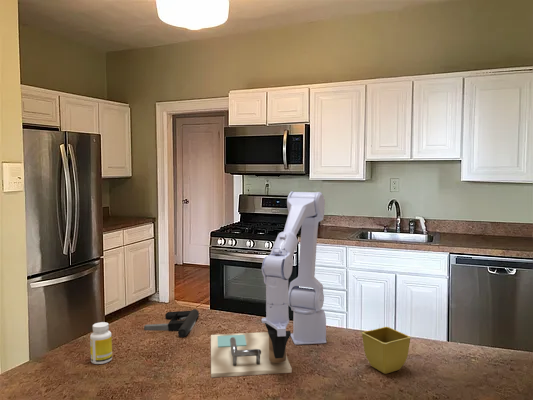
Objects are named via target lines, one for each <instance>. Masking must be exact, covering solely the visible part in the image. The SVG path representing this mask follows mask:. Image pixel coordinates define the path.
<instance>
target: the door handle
mask: <svg viewBox="0 0 533 400" xmlns="http://www.w3.org/2000/svg"><path fill="white" fill-rule="evenodd" d="M200 314H201V313H200V312H199V310H198V309H195V308H194V309H191V310H182V311H181V310H179V311H178V310H176V311H168V312H166V313H165V315H164V317H165V319H166V320H170V321H169V322H167V323H154V324H153V323H151V324H150V323H149V324H145V325H144V326H143V330H144V331H168V332H177V333H178V336H179V337H180V338H185V337H186V336H187V335H188V333H190V332H191V331H192V329H193V328H194V326H195V325H196V322H197V318H198V317H199V316H200Z"/></svg>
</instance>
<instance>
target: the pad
mask: <svg viewBox="0 0 533 400" xmlns="http://www.w3.org/2000/svg"><path fill="white" fill-rule="evenodd" d="M232 337H234V338H235V339H236V345H237V346H247V345H246V340H245V335H228V336H218V348H219V347H231V346H230V339H231V338H232Z"/></svg>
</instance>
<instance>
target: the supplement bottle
mask: <svg viewBox="0 0 533 400" xmlns="http://www.w3.org/2000/svg"><path fill="white" fill-rule="evenodd" d="M109 329H110V327H109V323H108V322H105V321H101V322H95V323H94V324H92V332H91V334H90V337H89V341H90V342H89V346H90V347H89V349H90V362H91V363H92V364H95V365H103V364H107V363H109V362H110V361H112V359H113V343H112V342H113V341H112V340H113V339H112V332H111V330H109Z"/></svg>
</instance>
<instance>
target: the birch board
mask: <svg viewBox="0 0 533 400" xmlns="http://www.w3.org/2000/svg"><path fill="white" fill-rule="evenodd" d="M228 335H245V340H246V345H247V346H237V350H250V349H260V350H261V354H260V364H259V365H257V364H256V356H243V357H237V365H236V366H233V356H232V354H231V347H219V348H218V336H228ZM292 369H293V368H292V365H291V364H290V361H289V358H288V356H287V355H286V360H285V361H284V362H280V363H275V362H271V361H270V360H269V334H268V331H262V332H261V331H260V332H259V331H258V332H244V333H243V332H241V333H239V332H238V333H224V334H223V333H222V334H211V335H210V378H226V377H240V376H241V377H243V376H257V375H258V376H260V375H273V374H274V375H275V374H289V373H290V374H291V373H292Z"/></svg>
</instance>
